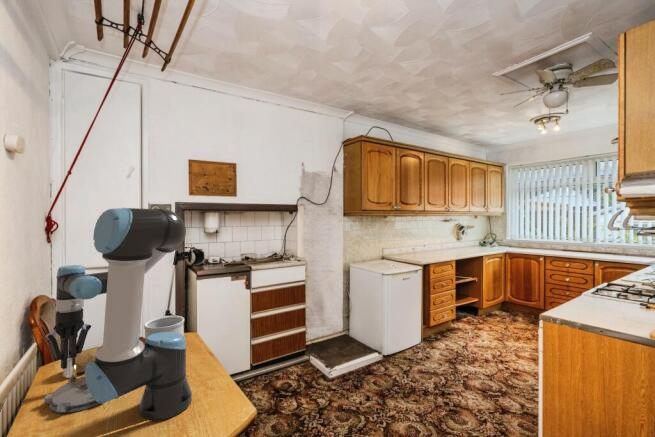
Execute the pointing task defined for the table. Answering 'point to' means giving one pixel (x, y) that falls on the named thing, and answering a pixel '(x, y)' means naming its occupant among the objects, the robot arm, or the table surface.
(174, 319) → the utensil holder
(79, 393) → the sprocket
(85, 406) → the base plate
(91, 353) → the potato
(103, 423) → the table surface
